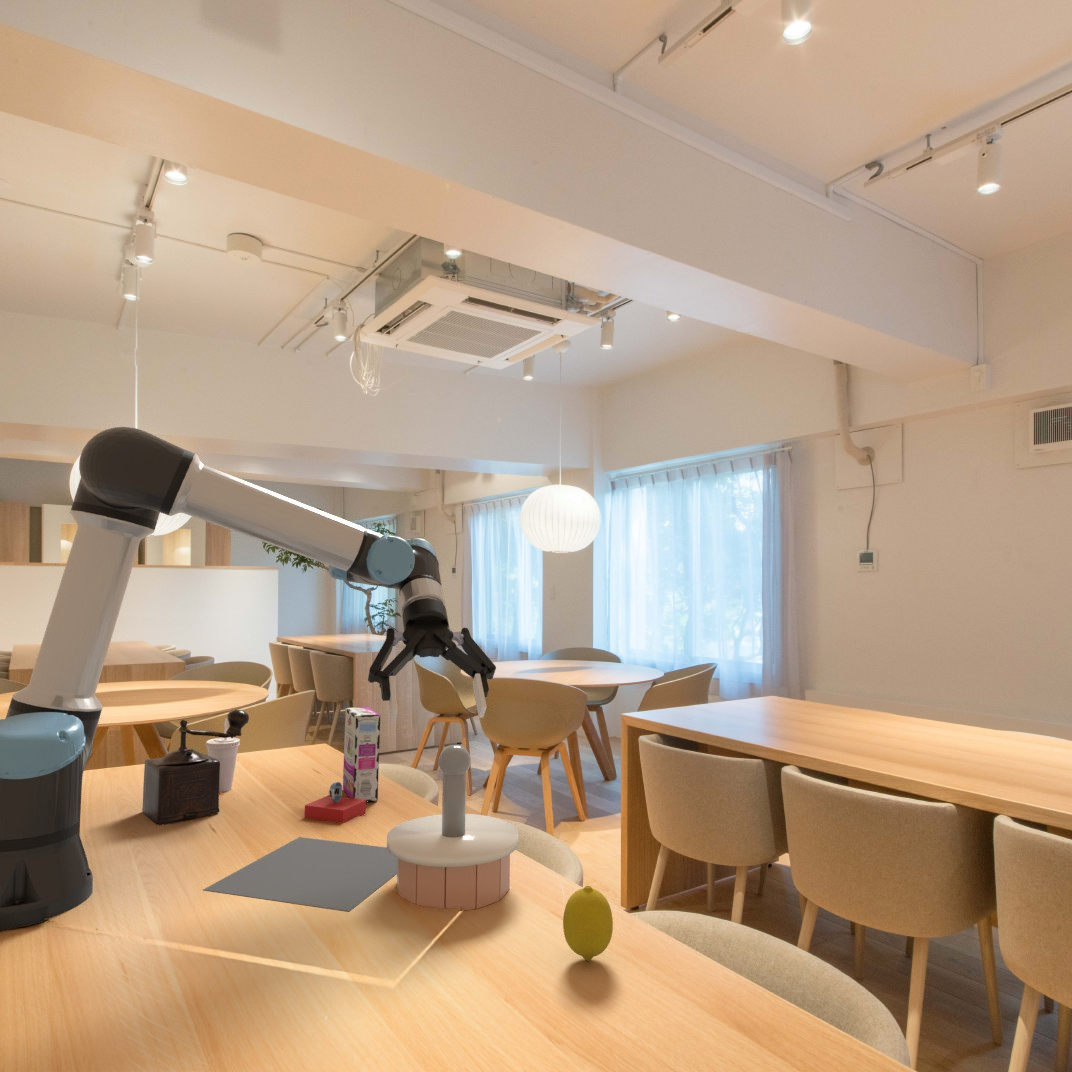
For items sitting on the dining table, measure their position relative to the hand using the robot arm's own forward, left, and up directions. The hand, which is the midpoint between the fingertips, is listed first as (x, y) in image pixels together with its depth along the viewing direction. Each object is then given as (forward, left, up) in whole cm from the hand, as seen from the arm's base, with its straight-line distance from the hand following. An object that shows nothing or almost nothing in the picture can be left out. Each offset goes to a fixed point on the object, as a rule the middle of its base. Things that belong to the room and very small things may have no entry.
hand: (439, 714), depth 115 cm
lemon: (-23, -28, -22) cm, 42 cm away
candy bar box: (+27, +28, -22) cm, 45 cm away
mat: (-10, +14, -22) cm, 27 cm away
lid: (-9, -6, -16) cm, 19 cm away
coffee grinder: (+9, +52, -22) cm, 57 cm away
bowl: (-9, -6, -22) cm, 24 cm away
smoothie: (+22, +57, -22) cm, 65 cm away
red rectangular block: (+14, +26, -22) cm, 37 cm away
